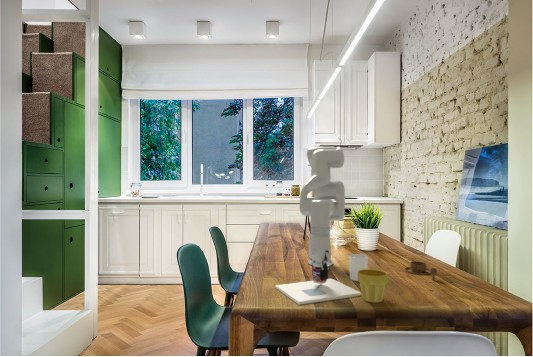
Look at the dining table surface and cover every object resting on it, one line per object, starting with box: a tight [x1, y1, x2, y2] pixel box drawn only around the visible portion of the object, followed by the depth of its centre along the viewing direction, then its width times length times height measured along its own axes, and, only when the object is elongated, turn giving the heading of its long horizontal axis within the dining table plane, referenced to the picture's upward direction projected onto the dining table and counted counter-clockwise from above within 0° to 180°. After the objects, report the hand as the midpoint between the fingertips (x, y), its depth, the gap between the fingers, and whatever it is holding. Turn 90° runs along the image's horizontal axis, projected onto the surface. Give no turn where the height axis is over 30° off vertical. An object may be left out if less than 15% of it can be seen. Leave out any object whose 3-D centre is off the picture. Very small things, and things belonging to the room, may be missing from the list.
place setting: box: [399, 261, 438, 281], centre depth 160 cm, size 18×20×6 cm
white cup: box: [348, 253, 369, 282], centre depth 152 cm, size 8×8×10 cm
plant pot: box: [357, 268, 389, 303], centre depth 126 cm, size 10×10×10 cm
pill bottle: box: [312, 259, 327, 284], centre depth 139 cm, size 5×5×10 cm
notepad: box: [274, 278, 362, 306], centre depth 135 cm, size 20×26×1 cm
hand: (319, 276), depth 139 cm, fingers closed on pill bottle, 5 cm apart
